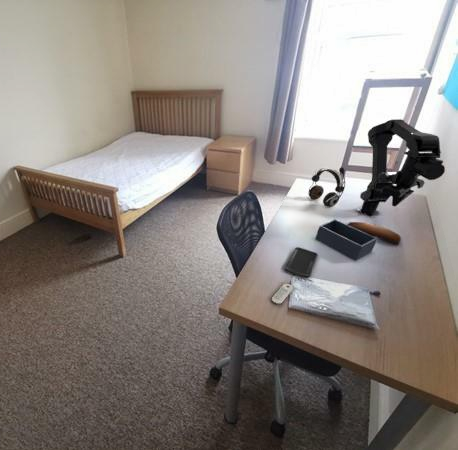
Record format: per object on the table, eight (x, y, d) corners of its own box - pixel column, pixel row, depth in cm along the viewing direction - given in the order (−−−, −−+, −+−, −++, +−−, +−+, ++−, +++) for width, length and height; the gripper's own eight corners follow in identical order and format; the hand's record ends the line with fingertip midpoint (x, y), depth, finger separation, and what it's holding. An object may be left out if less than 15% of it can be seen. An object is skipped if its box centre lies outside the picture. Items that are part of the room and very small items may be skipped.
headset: (342, 209, 132) (357, 169, 121) (330, 212, 130) (344, 171, 119) (314, 194, 146) (325, 157, 135) (302, 197, 144) (312, 160, 133)
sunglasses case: (400, 234, 112) (405, 226, 106) (395, 249, 110) (400, 241, 104) (348, 221, 122) (351, 213, 116) (343, 234, 120) (345, 226, 114)
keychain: (285, 281, 92) (294, 286, 90) (285, 282, 92) (294, 287, 90) (270, 299, 85) (280, 304, 84) (270, 300, 86) (279, 305, 84)
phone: (284, 267, 97) (296, 246, 107) (284, 270, 97) (295, 248, 107) (309, 276, 92) (318, 253, 102) (308, 278, 93) (318, 255, 103)
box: (330, 232, 116) (334, 219, 112) (371, 252, 104) (377, 238, 100) (315, 239, 112) (319, 225, 109) (355, 261, 100) (362, 246, 97)
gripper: (400, 158, 114) (385, 193, 122) (374, 168, 107) (359, 203, 115) (433, 166, 105) (414, 203, 114) (407, 177, 98) (389, 215, 107)
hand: (393, 205), depth 112 cm, fingers closed
